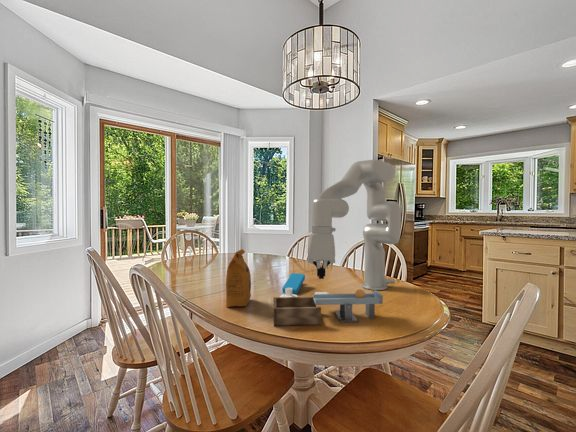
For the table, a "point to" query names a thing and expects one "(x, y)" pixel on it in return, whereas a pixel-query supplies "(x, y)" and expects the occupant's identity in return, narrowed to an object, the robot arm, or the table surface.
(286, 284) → the blue rectangular block
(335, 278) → the table surface
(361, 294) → the ball
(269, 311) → the table surface
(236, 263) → the coffee package
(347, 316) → the stand
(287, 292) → the teacup and saucer
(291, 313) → the box
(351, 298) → the lever
